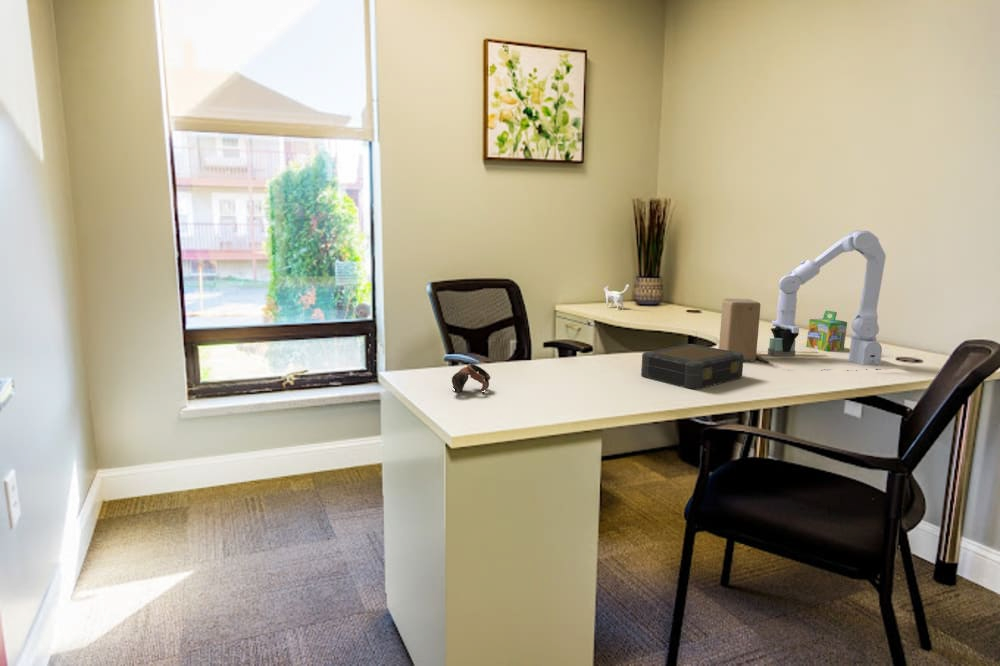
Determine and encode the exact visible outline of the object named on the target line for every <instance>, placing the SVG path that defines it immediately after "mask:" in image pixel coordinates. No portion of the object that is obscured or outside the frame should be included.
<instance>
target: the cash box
mask: <svg viewBox="0 0 1000 666" xmlns="http://www.w3.org/2000/svg"><path fill="white" fill-rule="evenodd" d="M743 359H744V355H743V354H741V353H738V352H732V351H727V350H722V349H719V348H716V347H709V346H704V345H700V344H696V343H694V344H693V343H688V344H682V345H677V346H672V347H671V346H670V347H665V348H661V349H660V348H659V349H655V350H648V351H645V352H643V353H642V355H641V369H640V371H641V373H640V376H641V377H642V378H646V379H649V380H653V379H654V380H653V381H657V380H658V382H661V381H662V382H661V383H664V382H666V383H665V384H668V383H670V385H672V384H674V385H673V386H676V385H678V387H680V386H683V387H682V388H684V387H687V388H686V389H688V388H691V389H690V390H698V389H697V388H700V389H703V388H702V387H704V388H707V387H706V386H708V387H711V386H710V385H712V386H715V385H714V384H716V385H719V384H718V383H720V384H723V383H722V382H724V383H727V382H726V381H728V382H731V381H730V380H732V381H734V379H735V380H739V379H741V378H743V371H744V370H743V368H744V361H743ZM738 378H739V379H738Z"/></svg>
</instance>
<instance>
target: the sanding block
mask: <svg viewBox="0 0 1000 666" xmlns="http://www.w3.org/2000/svg"><path fill="white" fill-rule="evenodd" d="M768 343H769V344H768V345H769V346H768V348H767V352H768V354H769V355H772V356H795V352H796V349H795V348H796V339H795V340H794V342H793V345H792V347H791V350H790V352H783V342H782V338H774V337H773V338H772V337H771V338H770V337H769V342H768Z"/></svg>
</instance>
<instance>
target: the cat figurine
mask: <svg viewBox="0 0 1000 666" xmlns="http://www.w3.org/2000/svg"><path fill="white" fill-rule="evenodd" d="M629 288H630V284H626V285H625V287H624V289H623V290H622V291H616V290H609V285H607V286H605V285H603V292H605V295H604V296H605V302H606V306H605V309H608V306H609V300H610V301H611V302H610V303H611V306H610V308H612V309H613V307H614V304H615V306H616V308H615V311H618V310H619V304H620V305H621V308H620V310H621V311H623V310H624V303H623V295H622V294H625V293H626V292H627V291H628V289H629ZM618 302H619V303H618Z"/></svg>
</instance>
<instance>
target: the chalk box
mask: <svg viewBox="0 0 1000 666" xmlns="http://www.w3.org/2000/svg"><path fill="white" fill-rule="evenodd" d="M837 314H838V313H837V312H836V311H833V310H825V311H824V314H823V317H822V318H810V319H809V322H808V329H807V331H808V332H807V337H806V345H805V348H810V349H814V350H819V351H823V352H834V351H835V352H836V351H844V350H845V342H846V337H847V335H846V334H847V326H848V322H847V321H845V320H841V319H840V320H839V319H836V317H837ZM828 315H831V317H828Z"/></svg>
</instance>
